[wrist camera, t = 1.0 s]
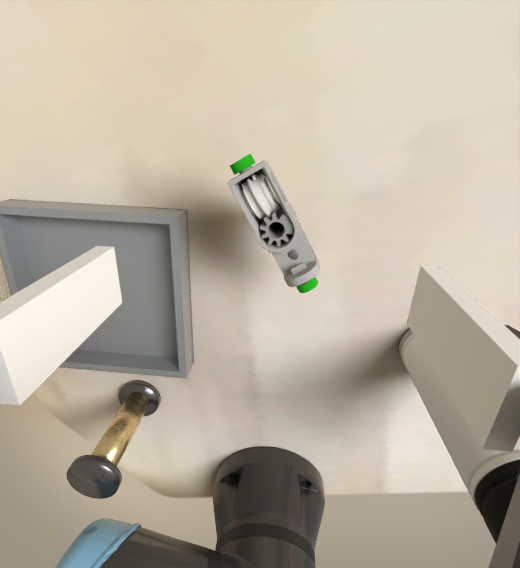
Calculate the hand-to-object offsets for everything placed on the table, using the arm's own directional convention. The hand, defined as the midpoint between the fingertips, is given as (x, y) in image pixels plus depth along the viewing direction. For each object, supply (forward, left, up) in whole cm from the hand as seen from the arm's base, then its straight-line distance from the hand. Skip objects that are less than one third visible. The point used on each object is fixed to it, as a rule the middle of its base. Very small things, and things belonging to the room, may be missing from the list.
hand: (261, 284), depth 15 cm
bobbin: (-25, +16, -19) cm, 35 cm away
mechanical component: (0, 0, -19) cm, 19 cm away
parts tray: (-10, +18, -19) cm, 28 cm away
